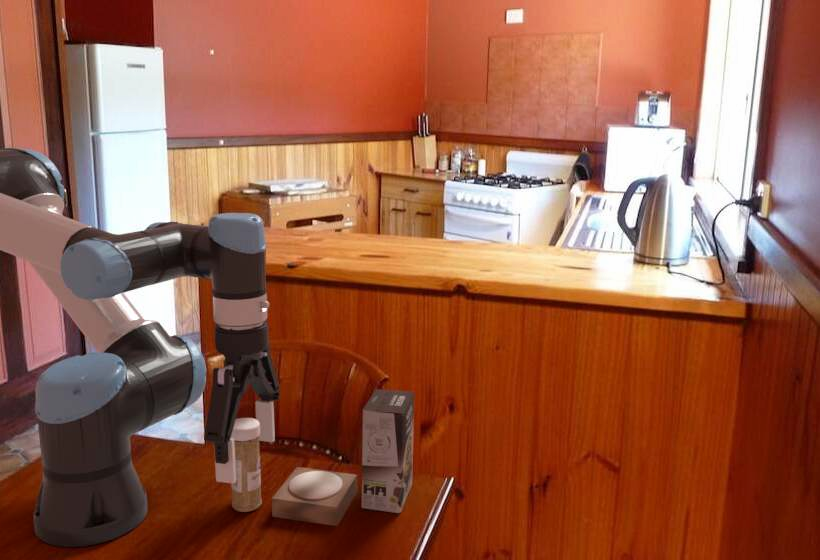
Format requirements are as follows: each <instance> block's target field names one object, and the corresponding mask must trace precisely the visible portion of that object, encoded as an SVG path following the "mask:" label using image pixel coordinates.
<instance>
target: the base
mask: <svg viewBox="0 0 820 560" xmlns="http://www.w3.org/2000/svg"><path fill="white" fill-rule="evenodd" d="M357 493H358V474H355V473H347V472H339V471H332V470H323V469H317V468H310V467H300V466H297V467H296V468H295V469H294V470H293V472H291V474H290V475H289V476H288V477H287V479H286V480H284V483H283V484H282V485H281V486H280V487H279V489H278V490H277V491H276V492H275V493H274V495H273V496H272V498H271V512H272V513H271V514H272V518H279V519H280V518H281V519H286V520H293V521H300V522H305V523H306V522H307V523H313V524H314V523H315V524H320V525H328V526H333V527H338V525H340V521H341V520H342V518H343V517H344V515H345V514H346V512H347V510H348V509H349V507H350V505H351V503H352V501H353V500H354V498H355V496H356V495H357Z"/></svg>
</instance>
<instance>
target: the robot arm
mask: <svg viewBox="0 0 820 560" xmlns="http://www.w3.org/2000/svg"><path fill="white" fill-rule="evenodd" d="M62 180H63V178H62V175H61V173H60V171H59V169H58V168H57V166H56V165H55V164H54V162H53V161H52V160H51V159H49V158H48V157H47V156H46V155H45V154H43V153H41V152H40V151H37V150H34V149H29V148H18V147H6V148H1V149H0V251H2V252H4V253H8V254H9V255H12V256H14V257H17V258H20V260H25V261H26V262H28V263H29V264H30V266H31V268H33V270H34V271H35V272H36V274H37V275H38V277H39V278H41V279H40V280H42V281H43V283H44V284H45V285H46V287H47V288H48V289H49V290H50V292H51V293H52V295H53V296H54V298H55V299H56V300H57V301H58V302H59V304H60V305H61V307H62V308H63V310H64V311H65V312H66V313H67V315H68V316H69V317H70V318H71V320H72V321H73V322H74V323H75V325H76V326H77V328H78V329H79V330H80V332H81V333H82V334H83V335H84V337H85V339H86V340H87V341H88V342H89V343H90V344H91V346H92V347H93V348H94V351H96V352H89V353H86V354H84V355H79V354H77V355H75V356H71V357H67V358H66V359H65V358H64V359H63V360H61V361H58V362H56V363H54V364H52V365H50V366H49V367H47V369H46V370H44V371H43V372H42V373H41V375H40V376H39V377H38V379H37V380H36V384H35V390H34V391H35V402H34V414H35V415H36V417H37V426H38V437H39V448H40V457H41V466H42V467H41V468H42V480H41V484H40V489H39V491H38V496H37V500H36V502H35V507H34V510H33V517H32V518H33V526H34V527H33V528H34V533H35V535H36V536H37V538H38V539H39V540H41V541H43V542H44V543H46V544H49V545H53V546H56V547H62V548H63V547H65V548H67V547H68V548H75V547H77V548H79V547H80V548H81V547H87V546H92V545H93V546H95V545H98V544H101V543H106V542H109V541H112V540H115V539H117V538H119V537H121V536H123V535H125V534H127V533H129V532H130V531H132V530H133V529H135V528H136V527H137V526H138V525H140V524H141V523H142V522H143V520H144V519H145V517H146V516H147V514H148V511H149V510H148V497H147V496H148V495H147V492H146V490H145V488H144V485H142V483H141V481H140V478H139V476H138V473H137V471H136V469H135V467H134V464H133V462H132V461H133V460H132V452H131V451H132V449H131V437H132V436H133V435H135V434H137V433H139V432H141V431H144V430H146V429H147V428H149V427H151V426H155V424H158V423H159V422H161V421H163V420H165V419H167V418H170V417H173V416H177V415H178V414H181V413H182V412H183V411H184V410H185V409H187V408H189V407H190V406H193V405H194V404H195V403H196V402H198V400H199V399H200V398H201V396H202V395H203V392H204V391H205V386H206V385H207V384H206V383H207V375H206V373H207V366H206V361H205V358H204V356H203V353H202V351H201V349H200V348H199V346H198V345H197V343H195V341H193V340H192V339H190V338H189V337H187V336H183V335H177V334H174V335H171V336H170V334H169V333H168V332H167V330H166V329H165V328H164V327H163V326H162V325H161V323H160V322H159V321H157V320H149V319H144V318H143V316H142V315H141V313H139V311H138V309H137V308H136V307H135V306H134V304H133V303H132V301H130V299H129V298H128V297H127V295H126V294H125V293H128V292H131V291H133V290H138V289H142V288H145V287H148V286H152V285H156V284H161V283H164V282H169V281H171V280H175V279H179V278H183V277H190V278H191V277H192V278H200V279H206V280H211V292H212V312H213V314H212V316H213V322H214V323H215V324H216V325H215V326H214V327H213V328H214V347H215V350H216V351H217V352H218V353H220V354H222V356H223V357H224V363H223V364H224V365H223V367H222V368H218V367H214V368H213V371H212V387H211V392H210V401H209V406H208V411H207V416H206V418H207V419H206V423H205V430H204V435H203V440H204V442H208V443H213V448H214V449H213V451H214V467H215V469H214V470H215V482H217V483H218V482H219V483H227V484H231V483H232V484H234V483H235V482H236V464H235V443H234V438H231V435H232V431H233V427H234V423H235V420H236V419H237V415H238V411H239V409H240V408H239V407H240V404H241V400H242V397H243V396H245V395H246V393H247V390H248V387H249V386H250V387H251V389H252V390H253V392H254V393H255V395H256V397H257V398H258V399H257V400H256V401H255V419H256V420H258V421H259V423H260V435H259V442H261V441H262V442H266V443H267V442H269V443H274V442H275V440H276V439H275V437H276V435H275V409H274V407H275V406H274V401H280V397H281V394H280V392H279V391H280V383H279V382H280V381H279V379H278V376H277V373H276V369H275V366H274V362H273V358H272V355H271V347H270V341H269V340H270V339H269V338H270V337H269V324H268V322H266V321H267V319H268V309H269V308H270V302H269V301H268V300H267V299H268V296H267V293H268V292H267V291H268V290H267V285H266V284H267V283H266V282H267V281H266V279H267V278H266V274H267V271H266V269H267V266H266V265H267V261H266V260H267V256H266V255H267V242H266V238H265V236H266V235H265V227H264V221H263V219H262V218H261V217H260V216H259V215H257V214H255V213H249V212H241V213H240V212H224V213H217V214H213V215H212V216H211V217H210V218H209V219H208V226H207V225H199V224H190V223H189V224H188V223H182V222H178V221H172V220H171V221H167V222H165V221H164V222H162V221H161V222H160V221H159V222H153V223H151V224H149V225H148V226H147V227H146V228H145V229H144V230H137V231H132V232H127V233H122V234H121V233H120V234H119V233H118V234H116V233H111V232H109V231H105V230H104V229H100V228H97V227H95V226H91V225H89V224H86V223H83V222H81V221H78V220H75V219H73V218H70V217H67V216H65V215H63V214H64V213H63V212H64V209H65V201H64V198H65V197H64V196H65V187H64V184H62V183H61V181H62Z"/></svg>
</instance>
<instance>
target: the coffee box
mask: <svg viewBox="0 0 820 560" xmlns="http://www.w3.org/2000/svg"><path fill="white" fill-rule="evenodd" d="M414 412H415V391H406V390H398V389H397V390H396V389H394V390H393V389H389V390H388V389H381V388H380V389H379V388H376V389H375V391H374V392H373V393H372V395H371V396H370V398H369V399H368V400H367V403H366V404H365V406H364V407H363V408H362V430H361V431H362V433H361V434H362V437H361V438H362V439H361V441H362V442H361V443H362V444H361V451H362V453H361V508H362V509H366V510H374V511H381V512H388V513H393V514H400V513H402V510H403V508H404V506H405V503H406V500H407V499H408V495H409V493H410V490H411V488H412V485H413V468H414V467H413V463H414V457H413V456H414V421H415V420H414V418H415V417H414V415H415V413H414Z"/></svg>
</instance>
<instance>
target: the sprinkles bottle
mask: <svg viewBox="0 0 820 560" xmlns="http://www.w3.org/2000/svg"><path fill="white" fill-rule="evenodd" d="M259 435H260V423H259V421H258V420H256V418H253V417H240V418H236V420H235V423H234V427H233V431H232V435H231V438H234V443H235V464H236V482H235V483H234V484H232V483H230V484H231V485H230V487H231V489H232V490H231V491H232V493H231V495H232V501H231V507H232V509H234V510H235V511H237V512H241V513H243V512H244V513H247V512H248V513H249V512H252V511H255V510H257V509H259V508H260V507H261V505H262V503H263V499H262V486H261V485H262V476H261V475H262V474H261V456H260V454H261V453H260V441H259Z"/></svg>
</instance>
